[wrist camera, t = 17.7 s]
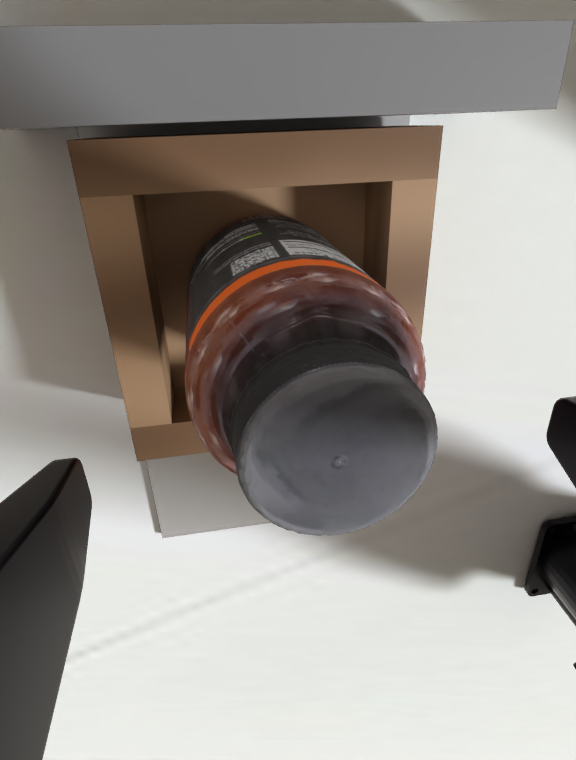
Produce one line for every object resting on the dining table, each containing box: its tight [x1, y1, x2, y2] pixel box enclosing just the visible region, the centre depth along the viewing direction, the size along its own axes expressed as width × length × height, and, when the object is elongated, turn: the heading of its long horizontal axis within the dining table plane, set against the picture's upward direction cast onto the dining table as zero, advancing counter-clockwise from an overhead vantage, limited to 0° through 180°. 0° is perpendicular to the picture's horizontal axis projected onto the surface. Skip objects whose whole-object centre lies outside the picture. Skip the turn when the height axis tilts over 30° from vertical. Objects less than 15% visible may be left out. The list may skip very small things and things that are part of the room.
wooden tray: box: [67, 126, 443, 461], centre depth 18 cm, size 11×11×4 cm
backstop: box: [0, 20, 574, 538], centre depth 19 cm, size 21×16×6 cm
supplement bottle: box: [185, 214, 437, 536], centre depth 14 cm, size 6×6×11 cm
